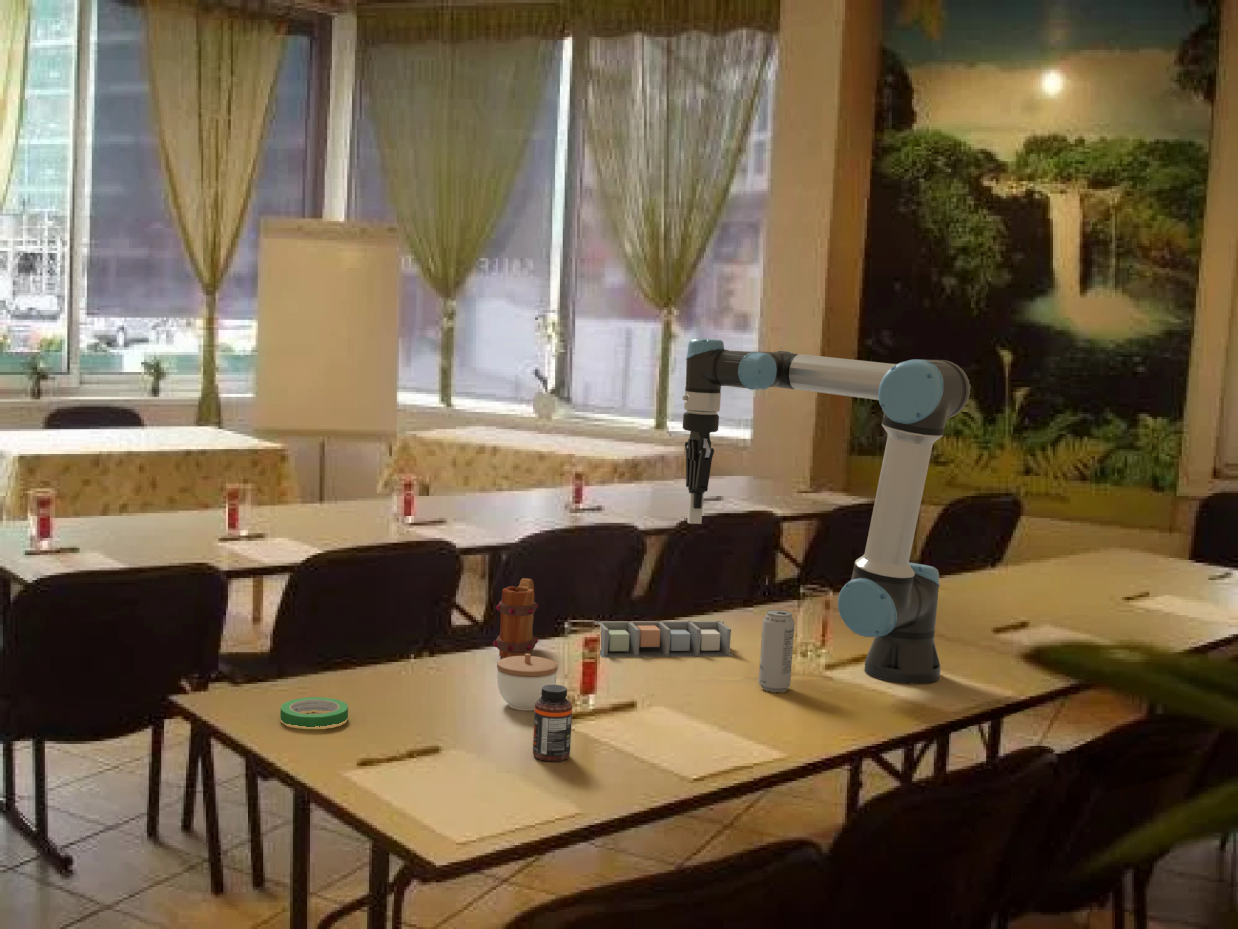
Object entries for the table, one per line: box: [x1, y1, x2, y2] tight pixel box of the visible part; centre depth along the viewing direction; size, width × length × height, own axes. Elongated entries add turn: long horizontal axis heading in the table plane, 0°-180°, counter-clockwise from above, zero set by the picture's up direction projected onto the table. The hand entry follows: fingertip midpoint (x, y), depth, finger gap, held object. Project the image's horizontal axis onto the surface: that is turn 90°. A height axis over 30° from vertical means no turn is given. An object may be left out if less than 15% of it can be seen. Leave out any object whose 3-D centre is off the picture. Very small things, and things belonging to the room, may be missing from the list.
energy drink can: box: [758, 609, 795, 693], centre depth 273 cm, size 6×6×15 cm
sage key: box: [608, 630, 630, 651], centre depth 292 cm, size 4×4×4 cm
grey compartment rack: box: [593, 620, 735, 658], centre depth 295 cm, size 10×28×6 cm, turn 104°
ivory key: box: [700, 629, 720, 651], centre depth 297 cm, size 4×4×4 cm
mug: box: [492, 577, 539, 659], centre depth 288 cm, size 15×8×15 cm, turn 168°
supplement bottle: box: [532, 684, 573, 762], centre depth 226 cm, size 6×6×11 cm
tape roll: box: [279, 696, 349, 727], centre depth 239 cm, size 11×11×3 cm
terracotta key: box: [637, 625, 660, 647], centre depth 294 cm, size 4×4×4 cm
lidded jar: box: [496, 653, 558, 711], centre depth 253 cm, size 11×11×9 cm
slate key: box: [669, 629, 691, 651], centre depth 296 cm, size 4×4×4 cm
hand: (694, 522), depth 303 cm, fingers closed
